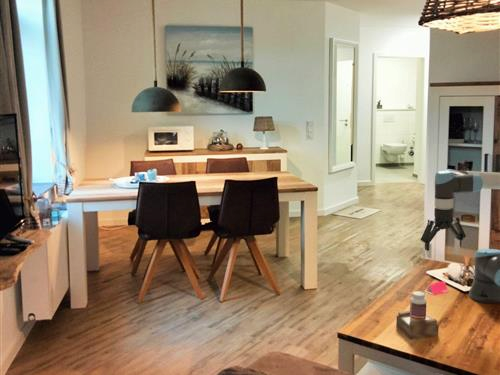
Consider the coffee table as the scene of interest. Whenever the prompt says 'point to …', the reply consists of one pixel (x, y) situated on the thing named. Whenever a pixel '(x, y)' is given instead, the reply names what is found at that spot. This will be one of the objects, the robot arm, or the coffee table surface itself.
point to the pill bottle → (418, 306)
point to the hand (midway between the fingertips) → (442, 255)
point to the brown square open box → (416, 326)
